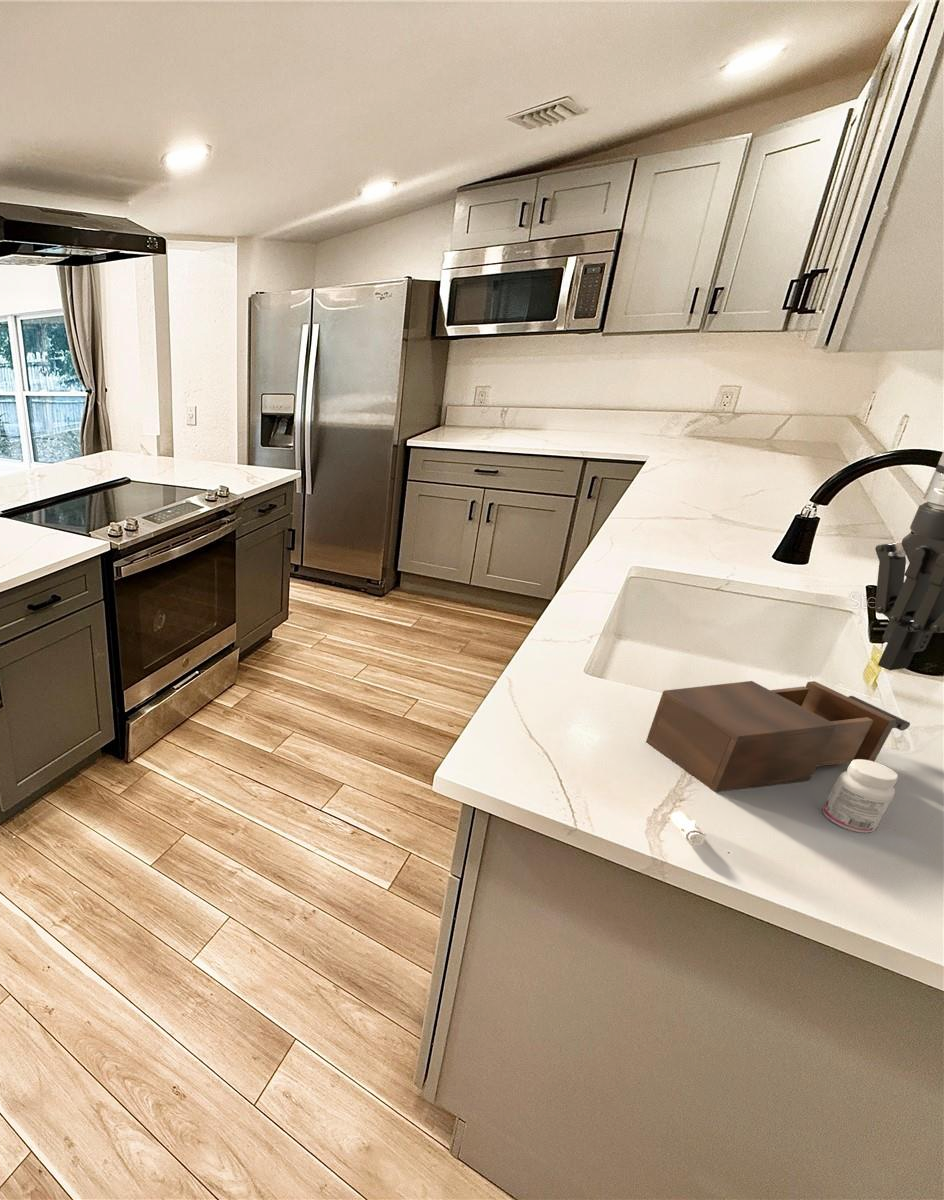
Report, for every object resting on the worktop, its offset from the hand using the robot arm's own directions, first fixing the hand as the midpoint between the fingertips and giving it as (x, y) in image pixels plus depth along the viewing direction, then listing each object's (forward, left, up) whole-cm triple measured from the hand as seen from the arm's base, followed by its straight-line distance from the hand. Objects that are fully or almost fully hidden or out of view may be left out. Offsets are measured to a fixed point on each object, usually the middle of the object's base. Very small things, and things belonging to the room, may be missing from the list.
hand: (892, 666), depth 87 cm
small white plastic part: (+39, +12, -14) cm, 43 cm away
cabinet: (+21, 0, -14) cm, 25 cm away
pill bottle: (+17, +13, -14) cm, 25 cm away
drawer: (+7, 0, -13) cm, 15 cm away
